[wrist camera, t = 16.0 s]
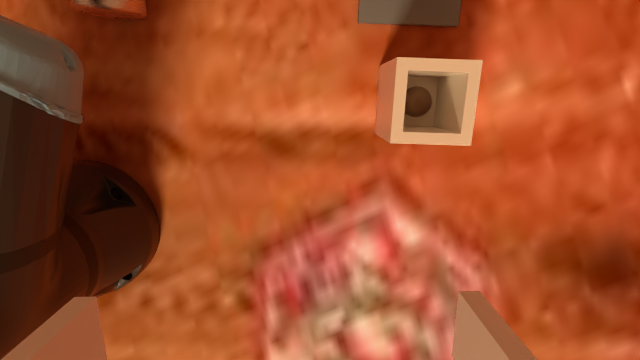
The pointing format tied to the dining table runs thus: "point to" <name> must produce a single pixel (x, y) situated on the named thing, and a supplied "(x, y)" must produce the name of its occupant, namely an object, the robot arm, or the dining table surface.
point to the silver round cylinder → (112, 8)
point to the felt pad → (410, 12)
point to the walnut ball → (417, 101)
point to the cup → (447, 100)
